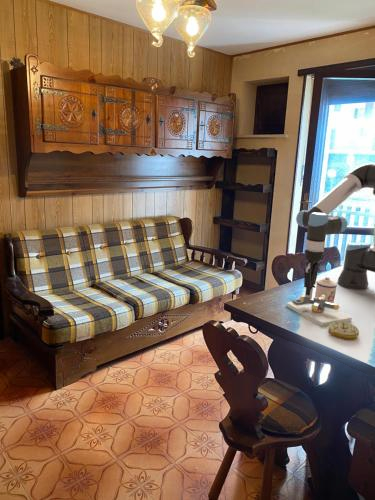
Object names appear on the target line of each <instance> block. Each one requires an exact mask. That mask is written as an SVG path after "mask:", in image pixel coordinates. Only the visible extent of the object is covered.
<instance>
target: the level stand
mask: <svg viewBox="0 0 375 500" xmlns="http://www.w3.org/2000/svg"><path fill="white" fill-rule="evenodd" d="M312 305H313V304H310V303H306V302H301V301H300V298H298V299H292V301H289V302H288V301H287V302H286V307H287V308H289V309H290V310H293V311H294V312H296V313H298V314H299V315H301V316H303V317H304V318H307V319H308V320H310V321H311V322H312V323H313V322H314V323H315V324H317V325H318V324H319V325H318V326H321V327H326V326H328V327H329V325H330V324H332V323H334V322H345V323H350V322H352V317H351V316H350V315H348V314H346V313H344V312H342V311H340V310H339V309H338V310H334V309H331V308H327V307H325V308H324V311H323V312H321V313H317V312H313V311H312V308H311V307H312Z"/></svg>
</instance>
